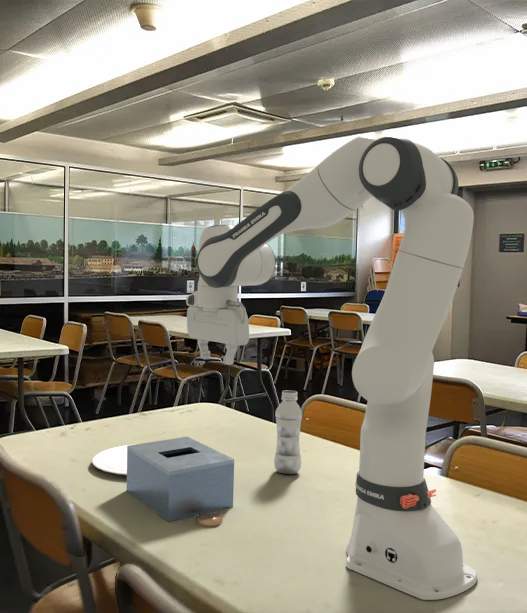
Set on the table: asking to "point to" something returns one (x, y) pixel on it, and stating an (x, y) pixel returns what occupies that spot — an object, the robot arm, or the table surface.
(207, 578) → the table surface
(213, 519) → the copper token
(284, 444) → the plastic bottle
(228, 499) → the coin box
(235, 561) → the table surface
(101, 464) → the plate
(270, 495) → the table surface
